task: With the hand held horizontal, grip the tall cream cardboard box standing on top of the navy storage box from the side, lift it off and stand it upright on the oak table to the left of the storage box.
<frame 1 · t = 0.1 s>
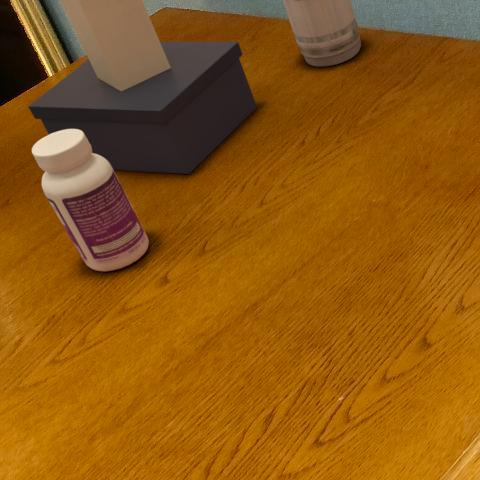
pill bottle: (119, 256, 81), on the table
storage box: (163, 137, 94), on the table
camera lens: (333, 56, 101), on the table
cream box: (134, 73, 89), point 6 cm above the table, touching storage box
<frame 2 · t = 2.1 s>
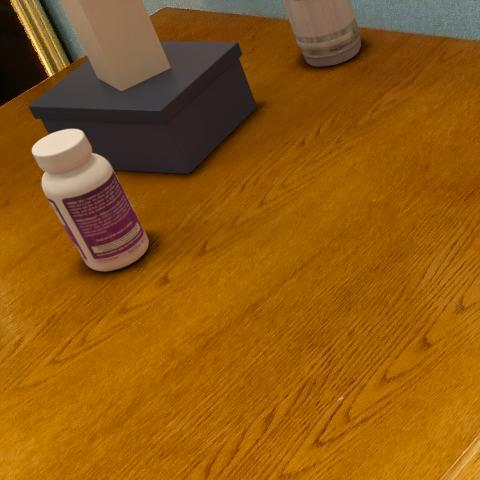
nothing on the table moved.
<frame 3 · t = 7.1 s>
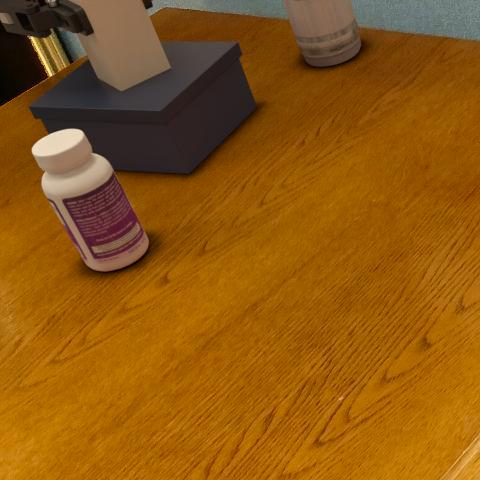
hand: (115, 8, 83), 12 cm above the table, tool horizontal, fingers closed on cream box, 5 cm apart
cream box: (134, 73, 89), point 6 cm above the table, touching gripper, storage box
everything else where it was.
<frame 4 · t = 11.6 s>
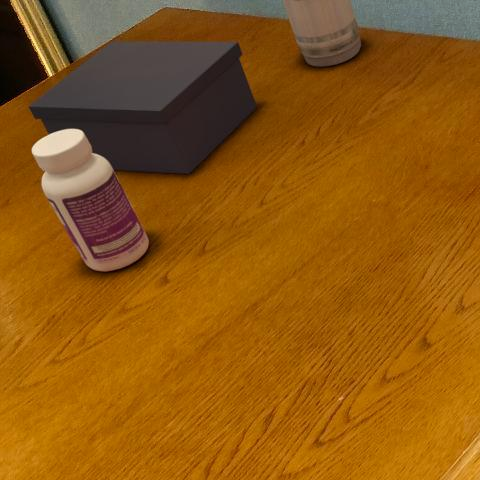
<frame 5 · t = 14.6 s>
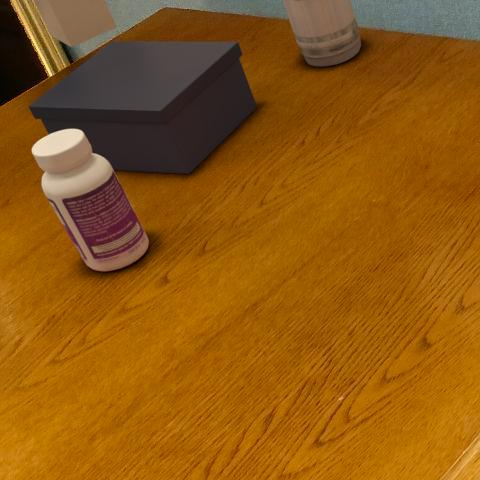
cream box: (84, 31, 99), point 6 cm above the table, touching gripper
everything else where it was.
when the fingers open (6 cm above the table, at t = 16.7 s): cream box stays where it is, on the table.
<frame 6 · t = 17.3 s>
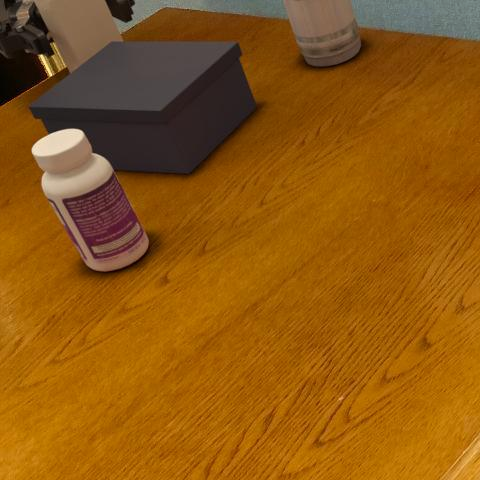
hand: (87, 27, 97), 6 cm above the table, tool horizontal, fingers open, 8 cm apart
cream box: (111, 88, 103), on the table
everything else where it was.
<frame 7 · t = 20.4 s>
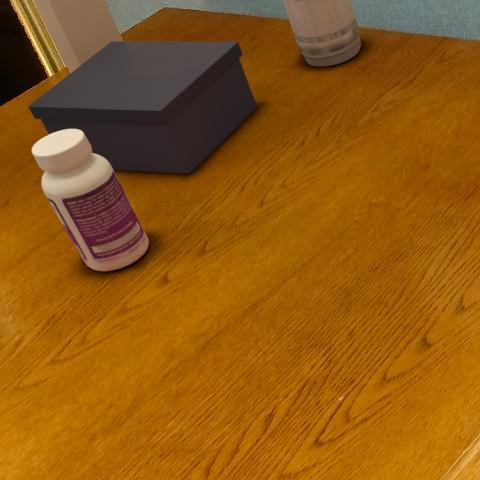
nothing on the table moved.
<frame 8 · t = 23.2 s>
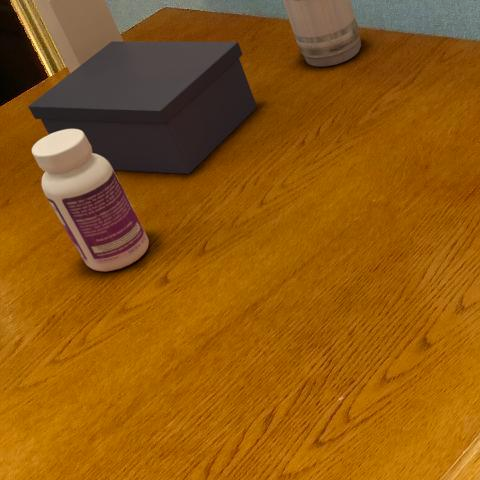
nothing on the table moved.
at the end: cream box inside the target area (0.1 cm from its centre), on the table; cream box tilted 0°; cream box touching table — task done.
